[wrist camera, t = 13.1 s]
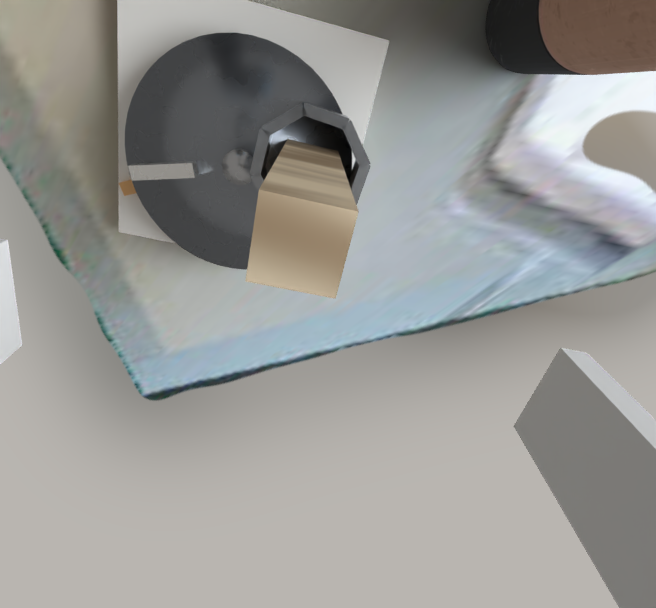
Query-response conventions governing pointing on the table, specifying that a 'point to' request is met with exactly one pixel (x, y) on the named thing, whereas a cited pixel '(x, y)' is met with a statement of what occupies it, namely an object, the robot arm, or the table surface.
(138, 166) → the dial
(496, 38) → the travel mug
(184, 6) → the plate
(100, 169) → the table surface
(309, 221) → the stick
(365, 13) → the table surface
